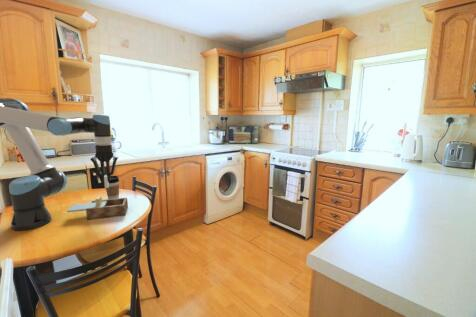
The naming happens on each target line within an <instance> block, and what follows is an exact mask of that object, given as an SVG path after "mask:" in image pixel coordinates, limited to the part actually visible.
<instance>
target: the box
mask: <svg viewBox="0 0 476 317" xmlns="http://www.w3.org/2000/svg"><path fill="white" fill-rule="evenodd" d="M103 201H107V203H106V205H105V206H104V207H95V208H86V210H85V213H86V220H87V221H89V220H90V221H91V220H98V219H99V220H100V219H106V218H108V219H109V218H114V217H115V218H117V217H124V216H126V214H127V211H128V209H129V205H128V204H129V202H128V197H119V198H117V199H108V198H107V199H102V202H103ZM94 202H96V201H95V200H91V203H94Z"/></svg>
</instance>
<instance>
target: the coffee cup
mask: <svg viewBox="0 0 476 317" xmlns="http://www.w3.org/2000/svg"><path fill="white" fill-rule="evenodd" d="M110 178H111V180H110V182H109V187H108V188H105V190H106V191H105V192H106V195H107V199H117V198H120V183H119V182H120V179H119V176H118V175H110Z"/></svg>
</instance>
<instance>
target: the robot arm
mask: <svg viewBox="0 0 476 317" xmlns="http://www.w3.org/2000/svg"><path fill="white" fill-rule="evenodd" d="M0 128H1V129H4V130H6V131H7V133H8V134H9V137H10V138H11V140H12V141H13V143H14V145H15V147H16V148H17V150H18V152H19V153H20V155H21V157H22V158H23V161H24V162H25V165H26V166H27V168H28V169H29V171H30V173H29V175H25V176H20V177H18V178H15V179H13V180H11V181H10V183H9V184H8V189H9V191H8V192H9V195H10V201H11V205H12V210H13V215H12V219H11V222H10V226H11V229H12V230H13V231H28V230H32V229H36V228H40V227H43V226H45V225H46V224H49V223H50V222H51V221H52V215H51V213H50V211H49V210H48V208H47V207H46V206H45V205H46V204H45V198H47V197H50V196H51V195H54V194H57V193H59V192H60V191H62V190H64V189H65V187H66V186H67V183H68V178H67V176H66V174H65V173H64V172H63V171H60V170H57V168H56V167H55V166H53V165H51V164H50V162H49V160H48V159H47V157H46V155H45V154H44V152H43V150H42V148H41V147H40V145H39V143H38V141H37V139H36V137H35V136H34V134H33V132H32V130H31V129H34V130H39V131H43V132H48V133H49V132H50V133H51V134H52V135H54V136H63V137H64V136H67V135H77V134H80V133H81V134H82V133H84V134H85V133H93V135H94V136H93V137H94V144H95V145H94V147H95V155H94V156H92V157H91V158H90V159H89V160H90V161H91V162H92V163H93V166H94V168H95V172H96V173H97V176H100V177H101V181H102V183H104V189H106V188H108V187H109V182H110V180H111V178H110V176H114V174H115V170H116V164H117V160H118V159H119V157H118V156H116V155H114V153H113V145H112V133H111V131H112V130H111V119H110V116H109V114H98V113H97V114H92V117H79V116H78V117H69V118H67V117H59V116H54V115H49V114H44V113H39V112H33V111H30V109H29V107H28V105H26V103H24V101H22V100H19V99H17V98H16V99H15V98H11V97H10V98H8V97H7V98H6V97H4V98H3V97H2V98H1V97H0ZM97 160H98V161H99V162H100V165H99V164H98V162H97ZM111 160H112V165H110V161H111ZM105 165H106V166H105ZM99 166H100V167H99ZM110 166H111V167H110ZM105 167H106V170H105Z"/></svg>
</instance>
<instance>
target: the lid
mask: <svg viewBox="0 0 476 317" xmlns="http://www.w3.org/2000/svg"><path fill="white" fill-rule="evenodd" d="M94 199H95V200H94V201H96V202H94V203H92V202H85V203H77V204H75V203H74V204H72V205H71V206H70V207H69V208H68V209H67V210H66V211H67V213H72V212H83V211H86V208H95V207H104V206H105V205H106V203H107V201H103V202H102V200H103V199H102V196H101V195H100V196H96V198H94Z"/></svg>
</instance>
